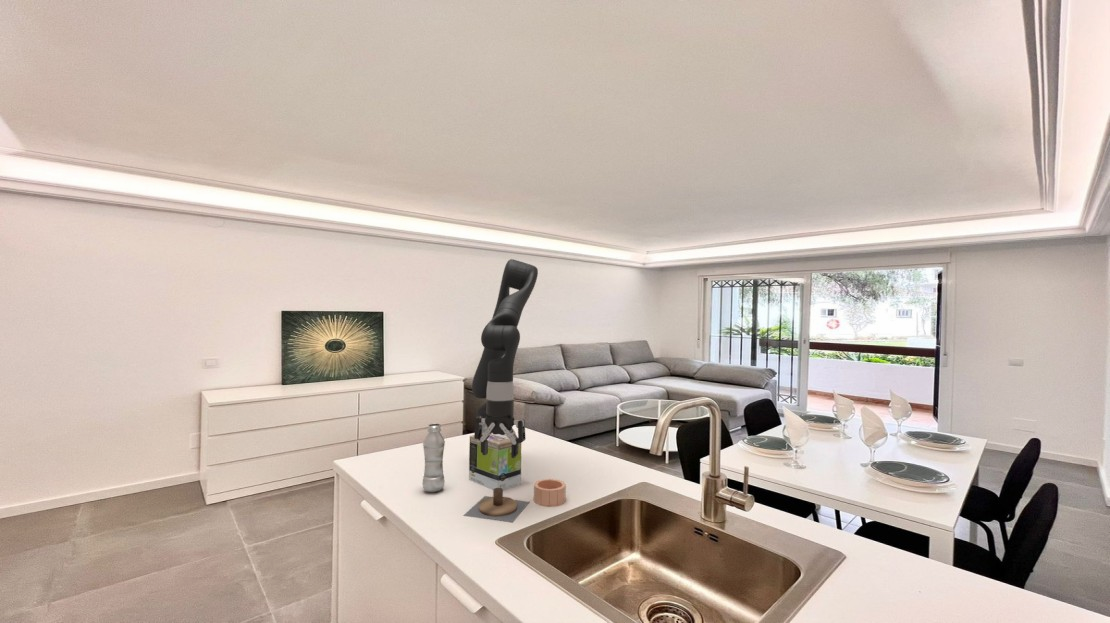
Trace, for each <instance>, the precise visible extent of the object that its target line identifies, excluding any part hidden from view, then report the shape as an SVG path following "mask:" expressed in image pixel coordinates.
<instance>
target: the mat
mask: <svg viewBox="0 0 1110 623" xmlns="http://www.w3.org/2000/svg"><path fill="white" fill-rule="evenodd" d="M490 497H491V496H487V495H484V496H483V497H482V498H480V500H479V501H478V502H477V503H476V504H474V505H473V506H472V507H471V508H470V509H468V511H466V512H465V513H464V514H463V515H462V516H464V517H470V518H477V519H485V520H490V521H491V520H492V521H497V522H505V523H512V524H513V523H514V522H515V521H516V519H517V518H519V516H520V514H522V512H523V511H524V510H525V509H526V507H528V505H529V504H530V503H531V502H530V501H529V500H521V499H519V500H518V499H514V500H515V501H516V502H517V509H516V511H515V512H513V513H512V514H509V515H506V516H487V515H484V514H482V513H481V512H480V511H479V503H480V502H481V501H482V500H484V499H487V498H490Z"/></svg>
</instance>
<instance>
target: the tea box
mask: <svg viewBox="0 0 1110 623" xmlns="http://www.w3.org/2000/svg"><path fill="white" fill-rule="evenodd" d="M483 434H484V433H482V435H483ZM487 440H488V454H487V455H483V454H482V453H481V441H480V440H479V439H475V438H474V435H470V436H469V447H468V448H469V453H468V456H469V458H468V459H469V460H468V461H469V462H468V463H469V464H468V480H469V481H471V482H473V483H476V484H478V485H480V486H483V487H485V488H488V489H490V490H493V489H495V488H502V489H503V491H505V490H507V489H510V488H513V487H515V486H519V485H520V484H521V483H522V443H519V448H518V455H517V456H516V457H515V458H511V448H512V444H513V443H512V442H511V440H510V439H509V438H508V437H507V436H506V434H505V435H500V434H493V433H492V434H491V435H490V436H489V437H488V439H487Z"/></svg>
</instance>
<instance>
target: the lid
mask: <svg viewBox="0 0 1110 623" xmlns="http://www.w3.org/2000/svg"><path fill="white" fill-rule="evenodd" d="M492 492H493V495H492V496H489V497H490V498H487V499H484V500H482V501H481V502H480V503H479V511H480V512H481V513H482V514H484V515H487V516H506V515H509V514H512V513H513V512H515V511H516V509H517V502H516V501H515V500H516V499H514V498H511V497H507V496H504V490H503V489H502V488H495V489H493V491H492Z"/></svg>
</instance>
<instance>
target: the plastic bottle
mask: <svg viewBox="0 0 1110 623" xmlns="http://www.w3.org/2000/svg"><path fill="white" fill-rule="evenodd" d="M427 426H428V427H427V428H428V429H427V432H428V433H427V435H426V436H425V438H424V439H423V442H422V447H423V454H424V470H423V471H424V472H423V476H422V484H421V485H422V489H423V490H424V491H425V492H428V493H436V492H440V491H442V490H443V488H444V486H445V483H446V482H445V474H444V466H443V465H444V463H443V462H444V450H445V445H446V441H445V438H444V436H443V434H442V433H441V430H442V428H441V427H442V426H441V424H440V423H430V424H428V425H427Z"/></svg>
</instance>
